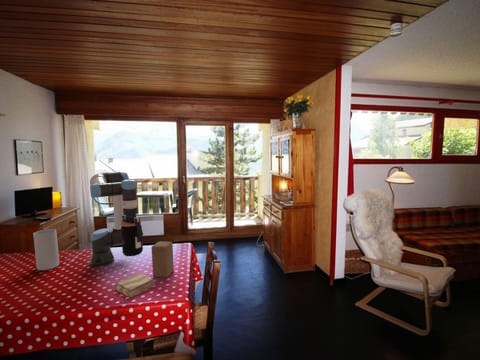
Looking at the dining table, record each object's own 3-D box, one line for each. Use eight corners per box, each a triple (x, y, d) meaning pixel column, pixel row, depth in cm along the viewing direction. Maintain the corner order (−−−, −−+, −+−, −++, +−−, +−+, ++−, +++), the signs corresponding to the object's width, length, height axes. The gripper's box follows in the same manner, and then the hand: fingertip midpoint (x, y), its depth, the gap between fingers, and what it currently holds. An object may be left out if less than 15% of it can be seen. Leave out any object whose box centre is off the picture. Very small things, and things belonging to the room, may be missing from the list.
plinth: (115, 289, 144) (115, 282, 144) (139, 278, 156) (138, 272, 156) (130, 297, 136) (130, 290, 135) (154, 285, 148) (153, 279, 147)
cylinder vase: (32, 269, 172) (28, 233, 169) (52, 261, 183) (48, 228, 181) (44, 272, 167) (40, 235, 164) (63, 264, 179) (60, 230, 176)
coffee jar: (126, 250, 149) (124, 220, 147) (145, 249, 150) (143, 219, 148) (119, 257, 138) (117, 225, 136) (139, 256, 139) (137, 224, 137)
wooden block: (167, 278, 156) (165, 247, 154) (152, 276, 158) (150, 246, 156) (174, 270, 166) (173, 241, 164) (160, 269, 168) (158, 240, 166)
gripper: (112, 206, 145) (115, 243, 147) (136, 211, 131) (138, 252, 134) (125, 204, 151) (127, 239, 153) (148, 208, 137) (150, 247, 140)
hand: (132, 245), depth 143 cm, fingers closed on coffee jar, 11 cm apart
